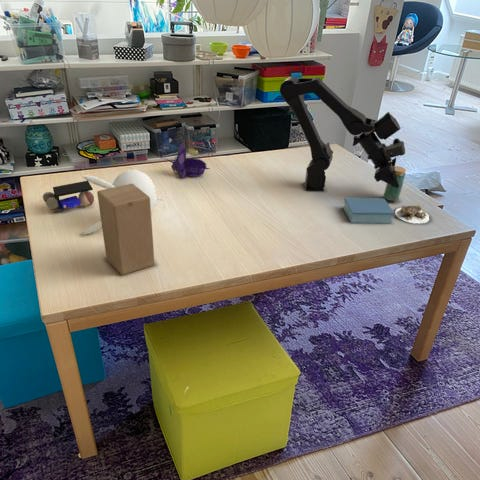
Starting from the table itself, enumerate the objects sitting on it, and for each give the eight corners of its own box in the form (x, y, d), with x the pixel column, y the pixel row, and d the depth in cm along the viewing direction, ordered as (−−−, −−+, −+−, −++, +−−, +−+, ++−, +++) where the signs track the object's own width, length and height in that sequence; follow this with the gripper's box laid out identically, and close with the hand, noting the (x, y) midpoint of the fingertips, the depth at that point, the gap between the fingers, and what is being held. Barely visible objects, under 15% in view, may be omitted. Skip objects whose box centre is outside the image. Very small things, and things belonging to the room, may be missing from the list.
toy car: (51, 220, 156) (98, 207, 161) (44, 198, 151) (92, 185, 156) (47, 211, 161) (92, 199, 166) (39, 189, 156) (86, 177, 161)
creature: (161, 172, 187) (159, 139, 180) (207, 168, 192) (207, 136, 185) (166, 181, 181) (164, 147, 173) (213, 177, 186) (214, 144, 178)
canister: (392, 201, 173) (399, 173, 167) (380, 196, 177) (387, 167, 170) (402, 198, 176) (409, 169, 170) (389, 192, 179) (397, 164, 173)
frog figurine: (410, 226, 161) (413, 215, 159) (386, 211, 170) (389, 200, 167) (437, 221, 166) (440, 210, 163) (413, 206, 174) (415, 195, 172)
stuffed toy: (155, 161, 153) (73, 162, 140) (174, 180, 144) (88, 184, 132) (150, 216, 164) (73, 222, 152) (166, 237, 156) (86, 245, 143)
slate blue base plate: (350, 223, 161) (352, 212, 159) (342, 208, 170) (344, 197, 168) (391, 223, 163) (394, 212, 160) (381, 208, 171) (384, 198, 169)
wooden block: (155, 265, 136) (150, 196, 124) (121, 276, 131) (112, 205, 119) (138, 249, 142) (132, 182, 130) (105, 259, 137) (96, 190, 125)
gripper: (393, 141, 157) (419, 181, 161) (396, 125, 171) (420, 161, 175) (362, 162, 163) (389, 199, 168) (368, 144, 177) (392, 179, 182)
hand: (398, 184), depth 173 cm, fingers closed on canister, 5 cm apart
